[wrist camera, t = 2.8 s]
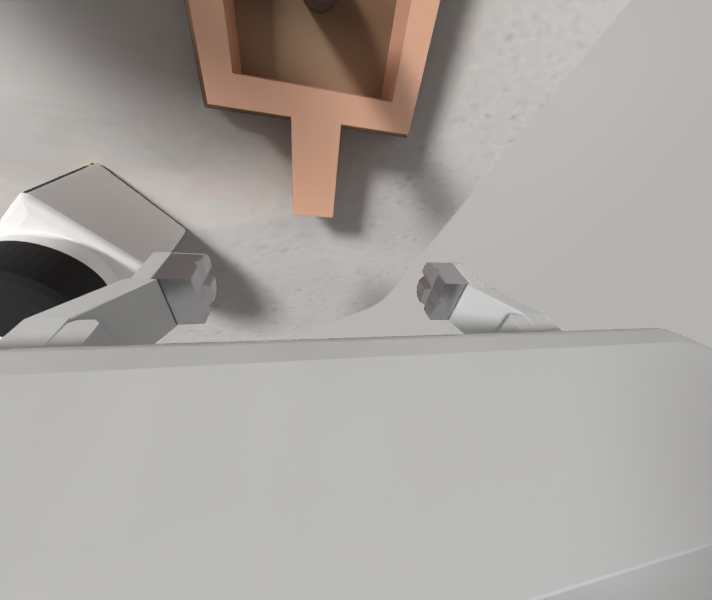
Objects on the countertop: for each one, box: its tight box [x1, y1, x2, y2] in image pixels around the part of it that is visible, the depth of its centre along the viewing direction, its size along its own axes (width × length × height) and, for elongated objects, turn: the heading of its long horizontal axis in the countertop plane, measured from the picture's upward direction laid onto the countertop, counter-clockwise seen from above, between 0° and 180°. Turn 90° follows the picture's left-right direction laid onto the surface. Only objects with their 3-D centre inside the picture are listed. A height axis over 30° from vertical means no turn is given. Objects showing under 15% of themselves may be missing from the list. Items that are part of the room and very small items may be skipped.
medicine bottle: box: [0, 163, 185, 339], centre depth 18 cm, size 7×7×12 cm
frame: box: [188, 0, 440, 218], centre depth 15 cm, size 18×12×3 cm, turn 172°
